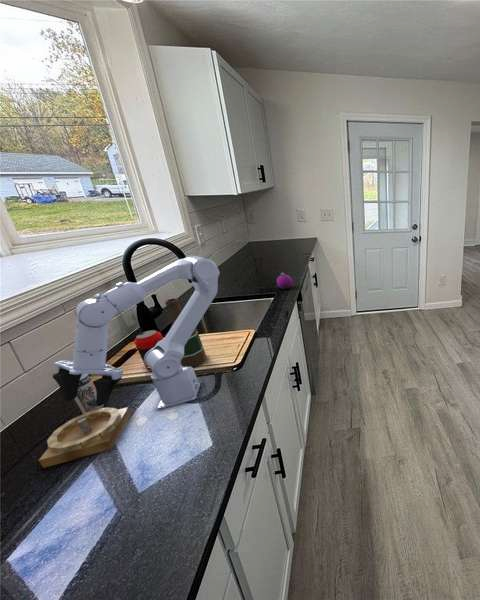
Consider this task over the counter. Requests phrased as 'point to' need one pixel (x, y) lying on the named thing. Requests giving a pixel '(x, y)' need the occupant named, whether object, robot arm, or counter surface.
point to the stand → (82, 431)
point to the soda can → (147, 342)
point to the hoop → (79, 444)
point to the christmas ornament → (284, 281)
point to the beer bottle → (193, 346)
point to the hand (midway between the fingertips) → (86, 401)
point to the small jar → (86, 395)
